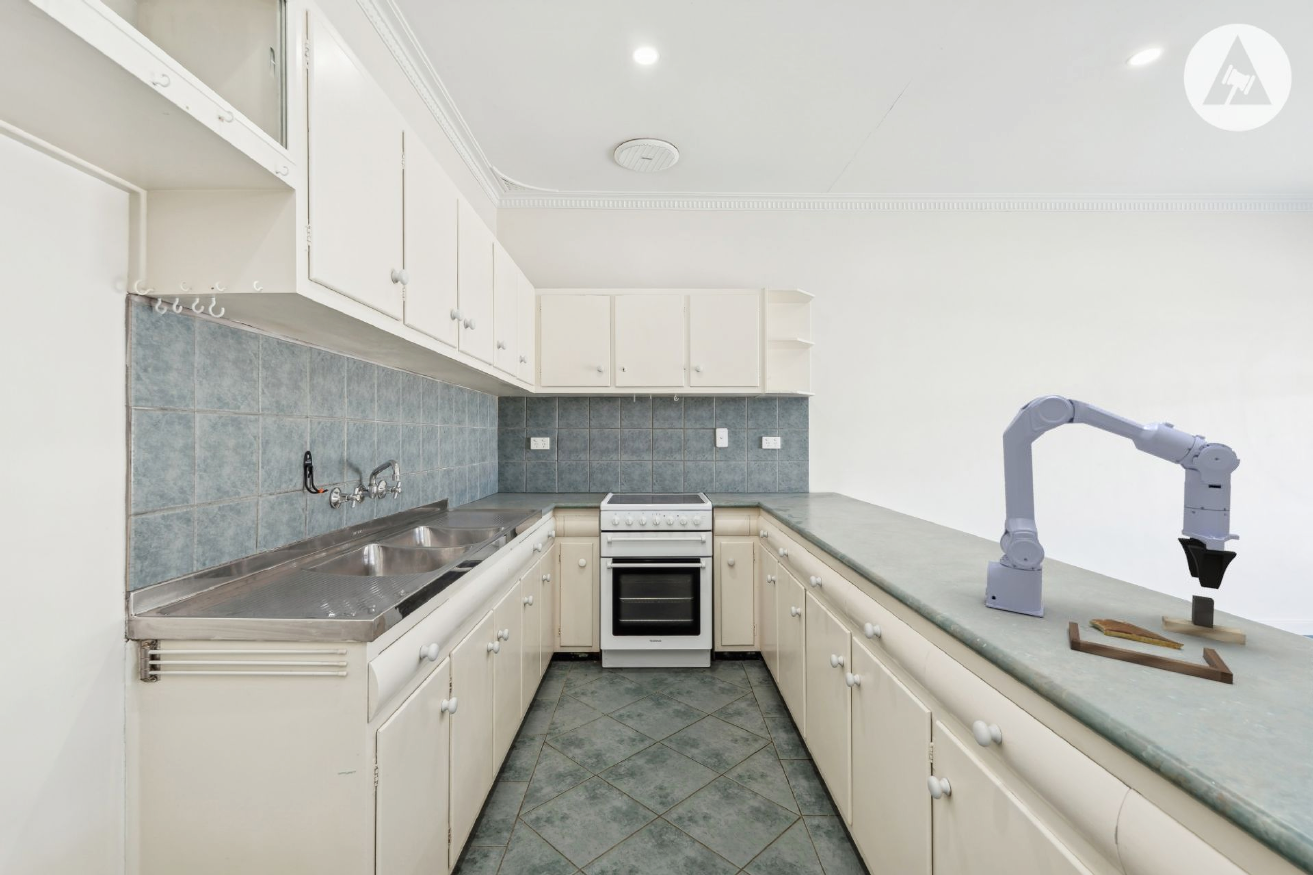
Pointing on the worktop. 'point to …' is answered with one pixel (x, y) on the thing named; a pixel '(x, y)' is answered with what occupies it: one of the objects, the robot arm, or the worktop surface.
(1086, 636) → the worktop surface
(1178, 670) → the walnut frame
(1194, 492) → the robot arm
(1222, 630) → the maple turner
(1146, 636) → the shard
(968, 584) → the worktop surface
